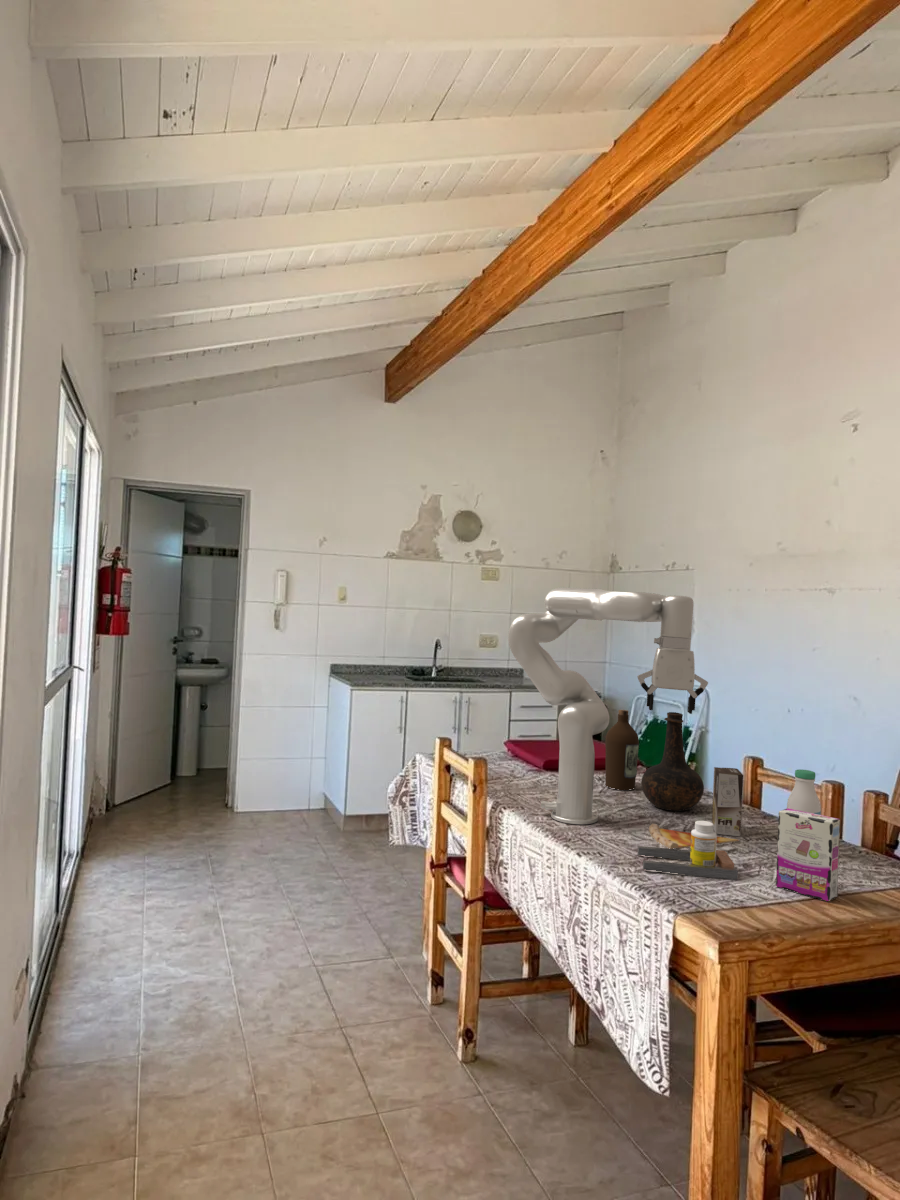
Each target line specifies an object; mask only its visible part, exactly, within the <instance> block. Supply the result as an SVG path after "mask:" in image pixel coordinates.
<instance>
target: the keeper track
mask: <svg viewBox="0 0 900 1200" xmlns="http://www.w3.org/2000/svg"><path fill="white" fill-rule="evenodd" d="M638 855H645V856H654V857H662V858H661V859H663V858H671V859H670V860H675V859H680V860H679V861H686V860H687V862H688V861H689V862H690V849H682V848H677V849H669V848H666V847H653V846H643V845H638V846H637V856H638ZM643 869H646V870H656V871H662V872H670V873H678V874H685V875H684V876H688V875H694V876H693V877H700V876H703V878H712V879H713V878H714V879H724V880H734V879H736V880H738V877H739V876H738V875H739V874H738V873H739V870H738V869H737V868H736V867H735V863H734V861H733V860H732V858H731V857H730V856H729V854H728V853H727V851H726V850H720V849H718V850H717V849H716V866H703V865H692V864H690V863H677V862H667V861H653V860H642V870H643Z"/></svg>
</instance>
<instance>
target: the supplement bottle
mask: <svg viewBox="0 0 900 1200" xmlns="http://www.w3.org/2000/svg"><path fill="white" fill-rule="evenodd" d="M690 833H691V847H689V848H690V849H689V850H690V861H689V864H692V865H703V866H715V867H716V850H717V844H716V842H717V837H718V834H716V832H715V830H714V828H713V823H712V821H711V822H710V821H709V820H708V821H707V820H696V821H695V822H694V829H692V830H691V831H690Z"/></svg>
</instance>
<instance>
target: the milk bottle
mask: <svg viewBox="0 0 900 1200" xmlns="http://www.w3.org/2000/svg"><path fill="white" fill-rule="evenodd" d="M794 776H795V777H794V779H795V781H794V782H795V783H794V786H793V788H792V790H791V792H790V794H789V796H788V798H787V803H786V809H787V808H789V809H794V810H799V811H803V812H808V813H813V814H818V815H822V814H821V802H820V799H819V797H818V793H817V791H816V788H815V782H816V772H815V771H812V770H809V769H796V770H795V771H794Z"/></svg>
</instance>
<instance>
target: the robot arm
mask: <svg viewBox="0 0 900 1200" xmlns="http://www.w3.org/2000/svg"><path fill="white" fill-rule="evenodd" d="M544 598H545V599H544V607H545V609H546V611H545V612H543V613H538V612H537V613H534V612H533V613H523V614H520V615H518V616H517V617H515V619H513V620H512V623H510V627H509V629H508V635H507V639H508V646H509V649H510V651H511V653H512V655H513V657H514V658H515V659H516V661H517V662H518V664H519V665H520V667H521V669H523V670H524V671H525V673H526V675H527V676H528V677H529V679H530V681H531V682H532V685H534V687H535V688H536V689H537V691H538V692H539V693H540V695H541V696H542V697H543V699H544V701H545V702H546V703H547V704H549V705H551V706H564V705H566V706H565V707H563V708H562V710H561V711H560V713H559V714H558V718H557V731H558V739H559V740H558V741H559V755H558V757H559V758H558V779H557V784H558V785H557V797H556V798H555V800H552V801H548V800H540V808H542V809H544V810H547V811H548V810H552V811H551V813H550V816H551V818H552V819H553V820H555V821H558V822H560V823H564V824H571V825H591V824H595V823H597V822H598V820H599V819H598V818H599V817H598V816H599V815H597V814H596V813H595V812H593V806H594V805H593V803H594V783H595V782H594V781H595V780H594V779H595V757H596V756H595V745H594V744H595V743H594V739H593V736H594V735H598V734H600V733H603V732H604V731H605V730H606V729H607V728H608V727H609V723H610V713H609V711H608V709H607V707H606V705H605V703H604V702H603V700H602V699H601V698H600V697H599V695H598V694H597V692H596V691H595V690H594V688H593V687H592V686H591V684H590V683H589V681H588V680H587V679H586V678H585V676H583V675H582V674H580V673H579V672H577V671H574V670H572V669H570V670H568V669H567V670H566V669H565V670H563V669H561V667H560V666H559V665H558V663H556V662H555V660H554V658H553V657H552V655H551V654H550V653H549V652H548V651H547V650H545V649H544V647H542V645H541V644H542V643H543V644H544V643H545V644H546V643H550V642H553V641H555V640H557V639H558V638H559V637H560V636H562V635H563V634H564V633H565V632H566V631H568V629H570V628H571V627H572V626H573V625H574V624H575V623H576V622H577V621H578V620H589V621H590V620H591V621H592V620H593V621H604V620H605V621H606V620H608V621H609V620H610V621H624V622H625V621H626V622H634V623H635V622H636V623H637V622H638V623H659V622H661V624H660V633H659V634H660V635H659V636H658V637H657V638H655V637H654V638H653V644H656V645H659V647H658V648H657V647H656V650H655V654H654V659H653V664H652V669H650V670H648V671H646V672H643V673H641V674H638V675H637V679H638V682H639V684H640V687H641V688H642V689H643V690H644V691H645V692H646V694H647V695H646V707H648V709H649V711H653V709H654V699H655V695H654V692H655V691H656V690H657V689H664V690H675V691H676V690H677V691H687V692H688V693H689V697H688V701H687V710H686V711H687V713H688V714H690V715H693V711H695V710H696V709H695V708H696V699H697V698H698V697H699V696H700V695H701V694H702V693H703V692H704V691H705V689H706V688H707V687H708V685H709V681H707V680H706V679H704V678H702V677H701V676H699V675H697V674H696V673H695V670H696V669H695V665H696V664H695V654H694V651H693V650H691V645H692V643H691V642H692V630H693V618H694V617H693V616H694V599H693V598H692V597H690V596H687V595H685V596H684V595H676V594H675V595H671V594H670V595H663V594H659V593H652V592H642V591H641V592H640V591H618V590H605V589H603V588H590V587H589V588H587V587H583V588H582V587H565V586H563V587H562V586H560V587H555V588H552V589H551V590H549V591H548V592H547V594H546V595H545V597H544ZM649 677H651V684H650V686H648V684H646V682H645V679H647V678H649ZM695 681H697V682H698V683H700V685H699V686H698V688H697V689H695V690H694V688H695V687H694V686H695Z"/></svg>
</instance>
